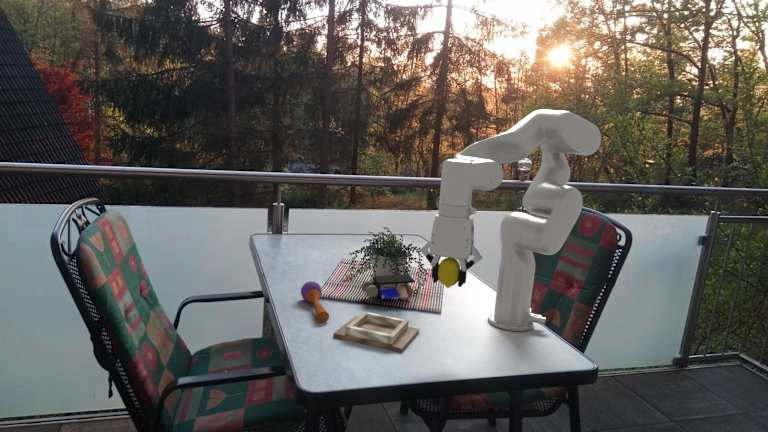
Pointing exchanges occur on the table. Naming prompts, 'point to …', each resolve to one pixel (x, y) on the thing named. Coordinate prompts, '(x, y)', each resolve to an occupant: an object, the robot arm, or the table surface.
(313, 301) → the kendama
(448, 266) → the lemon
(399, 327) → the jig board
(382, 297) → the figurine character
